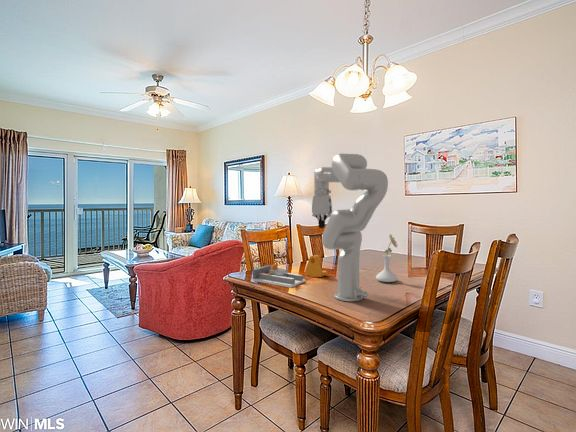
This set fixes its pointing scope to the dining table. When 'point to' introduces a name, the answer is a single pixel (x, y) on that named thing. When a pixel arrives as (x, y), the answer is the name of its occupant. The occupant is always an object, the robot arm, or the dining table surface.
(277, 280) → the scale board
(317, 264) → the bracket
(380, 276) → the flower in vase
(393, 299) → the dining table surface
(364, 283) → the dining table surface
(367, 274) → the dining table surface
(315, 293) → the dining table surface
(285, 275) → the gauge carriage
